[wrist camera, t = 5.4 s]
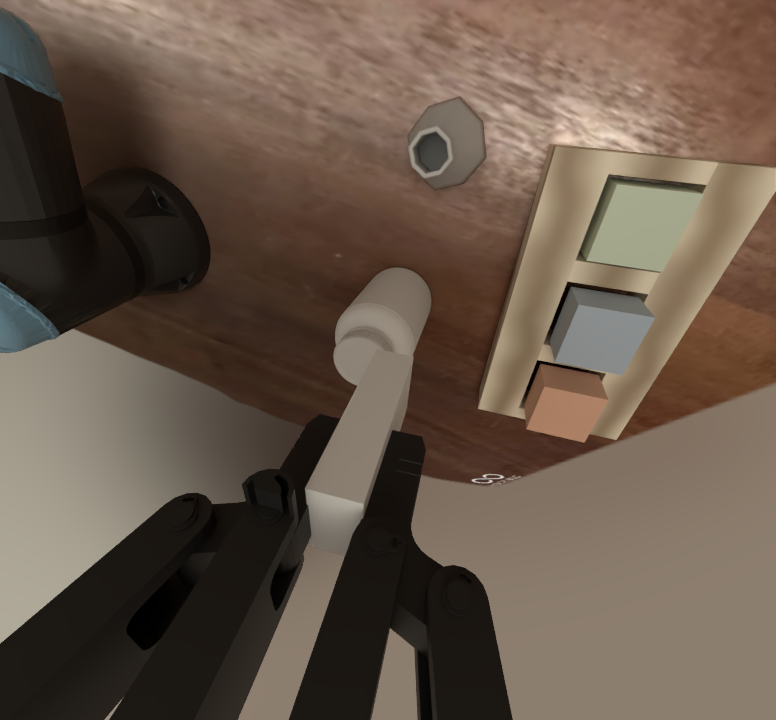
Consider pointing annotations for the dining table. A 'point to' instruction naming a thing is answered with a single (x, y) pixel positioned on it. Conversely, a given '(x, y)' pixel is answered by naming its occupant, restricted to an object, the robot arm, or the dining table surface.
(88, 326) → the dining table surface
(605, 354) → the button slate
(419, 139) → the flask
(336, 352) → the pill bottle
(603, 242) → the button sage
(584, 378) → the button terracotta
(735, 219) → the panel
